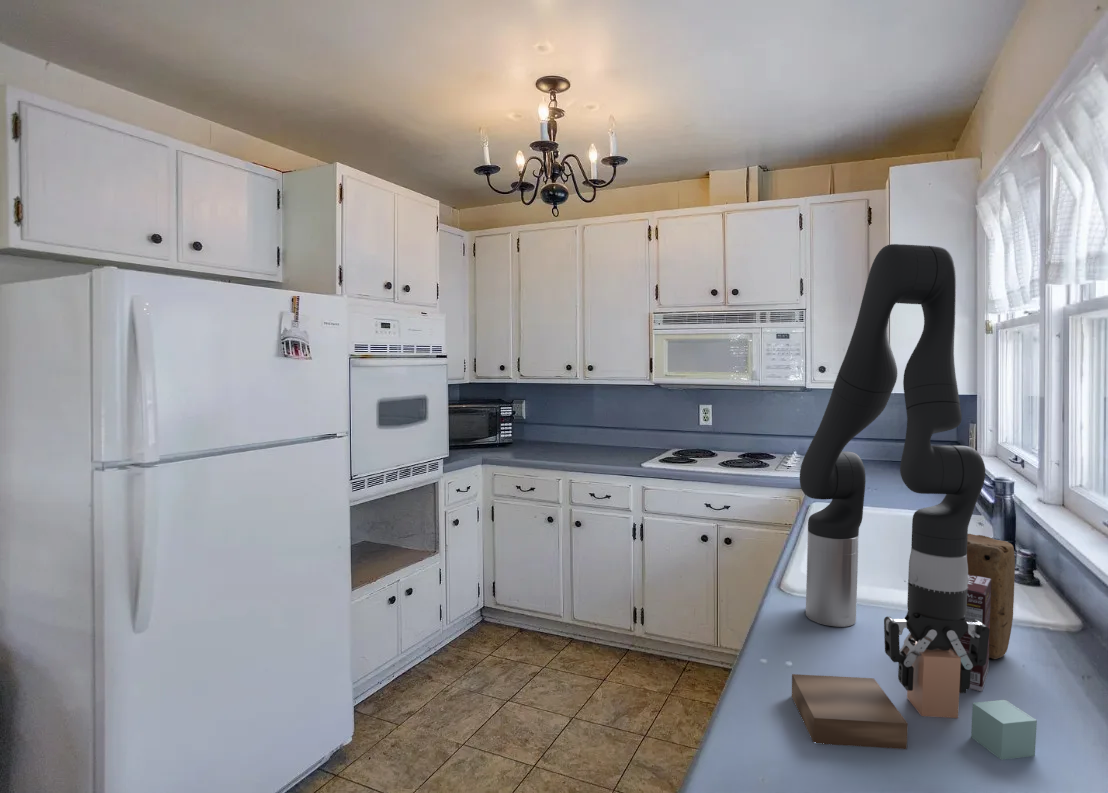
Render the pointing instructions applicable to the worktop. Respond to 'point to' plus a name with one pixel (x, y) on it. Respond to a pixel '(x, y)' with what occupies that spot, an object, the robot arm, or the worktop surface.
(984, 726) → the teal block
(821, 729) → the walnut block
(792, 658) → the worktop surface
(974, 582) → the supplement box
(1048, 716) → the worktop surface
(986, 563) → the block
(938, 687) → the terracotta block
